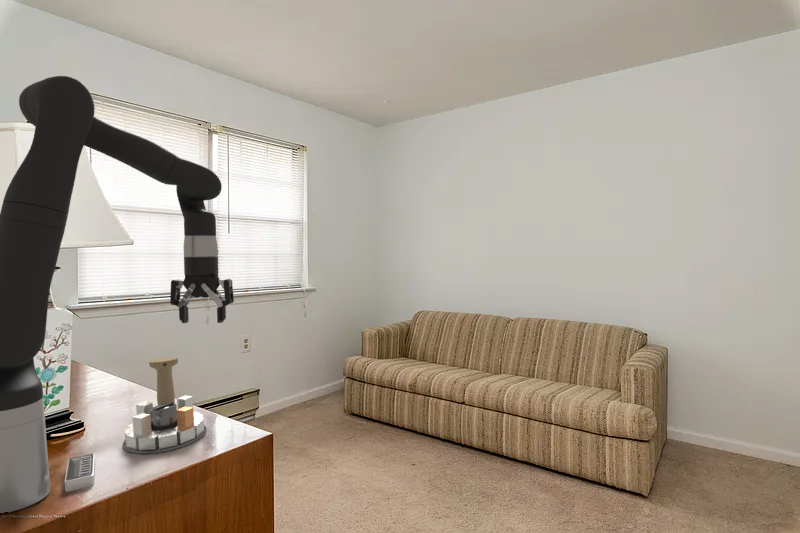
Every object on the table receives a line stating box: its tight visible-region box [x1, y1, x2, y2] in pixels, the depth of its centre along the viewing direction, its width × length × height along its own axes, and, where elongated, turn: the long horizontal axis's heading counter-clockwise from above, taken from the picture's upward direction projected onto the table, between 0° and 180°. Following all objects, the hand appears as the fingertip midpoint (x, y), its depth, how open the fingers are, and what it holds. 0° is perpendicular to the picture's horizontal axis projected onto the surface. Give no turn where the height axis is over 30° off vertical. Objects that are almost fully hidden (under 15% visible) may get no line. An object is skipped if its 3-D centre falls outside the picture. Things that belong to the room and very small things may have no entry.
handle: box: [148, 355, 179, 405], centre depth 119 cm, size 5×6×15 cm
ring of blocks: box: [122, 402, 207, 455], centre depth 107 cm, size 17×17×7 cm
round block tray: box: [124, 395, 205, 450], centre depth 107 cm, size 16×16×6 cm
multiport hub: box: [64, 453, 96, 493], centre depth 90 cm, size 4×11×2 cm, turn 32°
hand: (203, 322), depth 113 cm, fingers open, 8 cm apart
